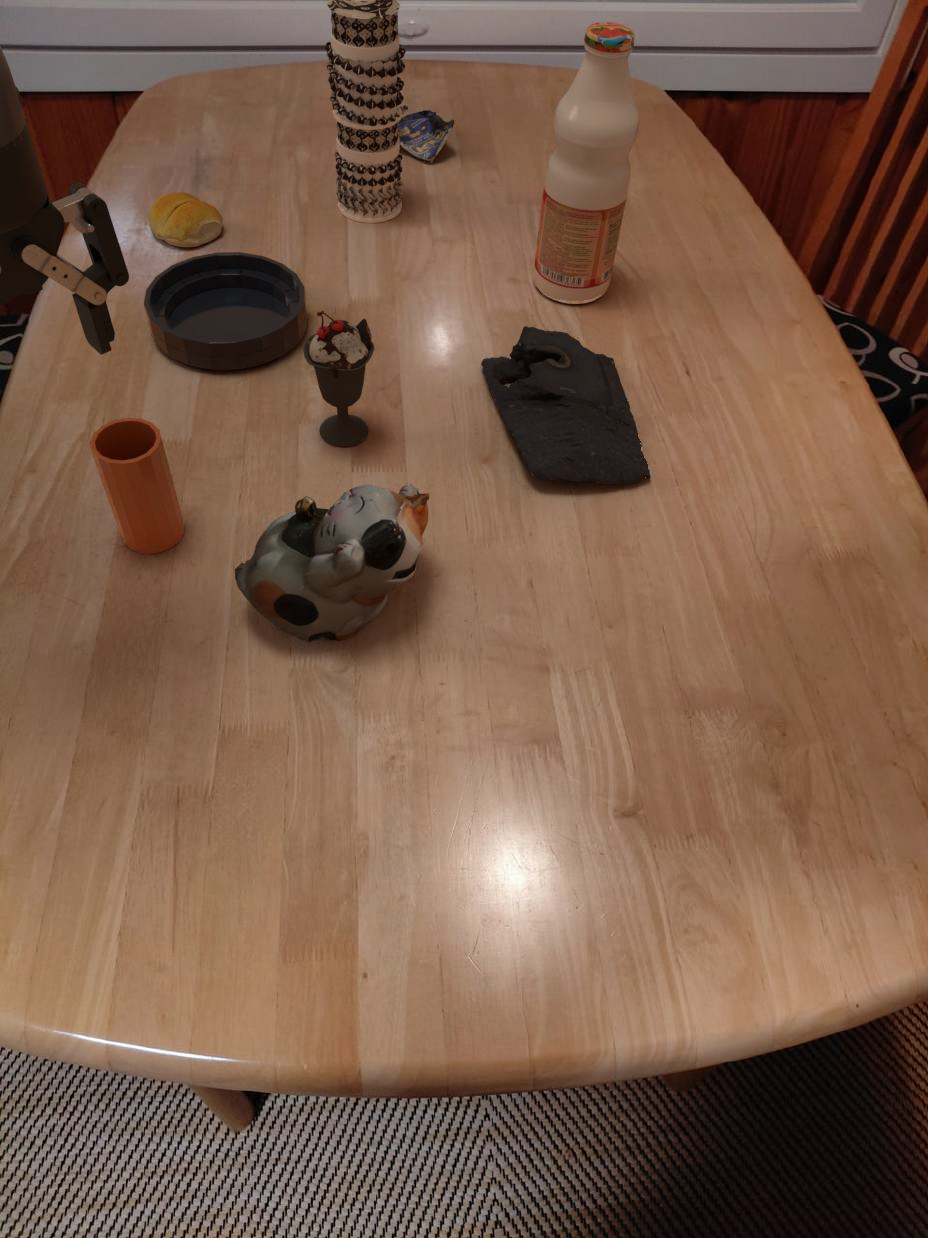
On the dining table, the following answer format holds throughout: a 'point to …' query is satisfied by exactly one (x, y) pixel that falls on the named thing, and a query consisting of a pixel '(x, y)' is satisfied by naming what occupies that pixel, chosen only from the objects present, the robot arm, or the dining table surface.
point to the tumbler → (138, 484)
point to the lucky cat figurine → (335, 561)
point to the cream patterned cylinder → (366, 107)
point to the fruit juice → (588, 170)
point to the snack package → (423, 133)
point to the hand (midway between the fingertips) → (41, 372)
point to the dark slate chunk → (566, 410)
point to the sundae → (340, 375)
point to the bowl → (226, 310)
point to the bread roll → (184, 220)
